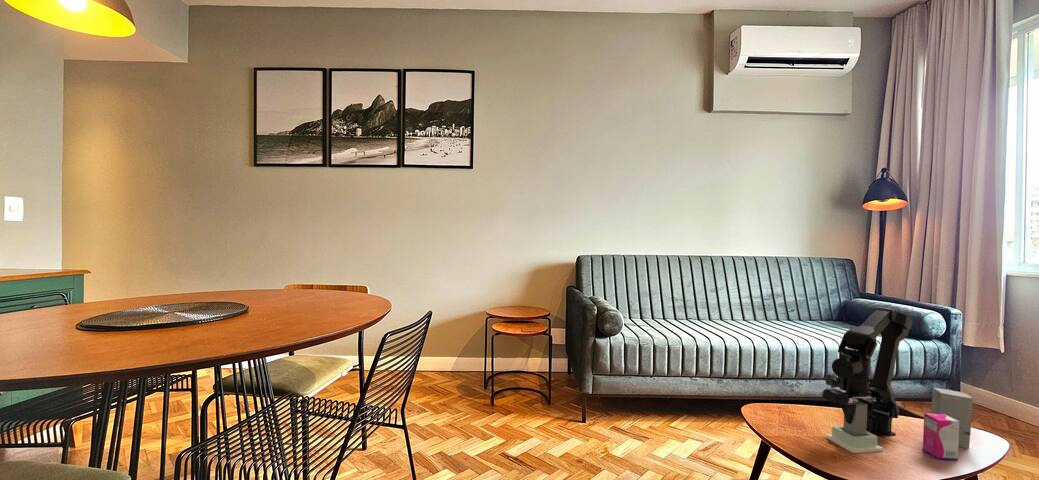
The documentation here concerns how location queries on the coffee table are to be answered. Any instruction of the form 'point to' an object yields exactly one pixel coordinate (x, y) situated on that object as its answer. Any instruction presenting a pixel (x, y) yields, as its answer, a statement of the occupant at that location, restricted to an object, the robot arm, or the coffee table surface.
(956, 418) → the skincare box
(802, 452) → the coffee table surface
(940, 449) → the supplement box
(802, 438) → the coffee table surface
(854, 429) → the peg
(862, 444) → the socket block
